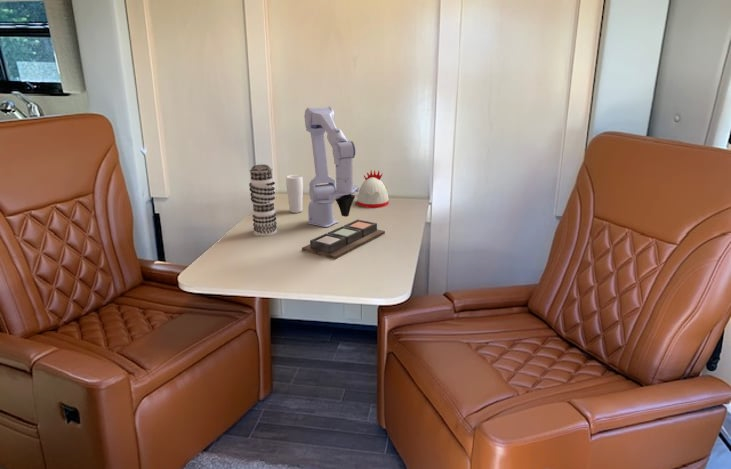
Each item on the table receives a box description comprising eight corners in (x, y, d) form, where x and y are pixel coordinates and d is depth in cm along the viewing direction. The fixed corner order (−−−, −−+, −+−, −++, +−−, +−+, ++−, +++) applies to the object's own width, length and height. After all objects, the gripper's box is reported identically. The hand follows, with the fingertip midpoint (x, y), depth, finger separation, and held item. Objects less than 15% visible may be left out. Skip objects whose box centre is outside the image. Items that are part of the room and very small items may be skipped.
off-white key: (314, 246, 175) (314, 241, 175) (326, 241, 180) (326, 235, 180) (329, 250, 172) (329, 244, 171) (341, 244, 177) (341, 239, 176)
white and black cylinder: (273, 226, 200) (269, 162, 192) (281, 233, 192) (277, 166, 184) (250, 230, 196) (244, 164, 188) (257, 237, 188) (251, 169, 180)
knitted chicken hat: (388, 208, 223) (388, 173, 218) (356, 207, 223) (355, 173, 218) (388, 199, 236) (388, 166, 231) (358, 199, 237) (357, 166, 232)
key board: (302, 250, 176) (301, 240, 175) (353, 226, 199) (353, 217, 198) (334, 259, 168) (334, 248, 167) (384, 233, 192) (384, 223, 190)
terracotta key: (348, 231, 190) (348, 226, 189) (358, 226, 195) (358, 221, 194) (362, 234, 187) (362, 229, 186) (372, 229, 191) (372, 224, 191)
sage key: (332, 238, 183) (332, 233, 182) (343, 233, 188) (343, 228, 187) (347, 242, 179) (347, 236, 178) (357, 236, 184) (357, 231, 183)
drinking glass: (307, 210, 220) (306, 175, 215) (297, 214, 214) (295, 179, 209) (295, 208, 223) (293, 173, 218) (284, 212, 218) (282, 177, 213)
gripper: (340, 183, 169) (341, 223, 173) (366, 174, 180) (366, 212, 185) (323, 180, 173) (325, 219, 177) (349, 172, 184) (350, 209, 188)
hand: (345, 215), depth 181 cm, fingers closed
